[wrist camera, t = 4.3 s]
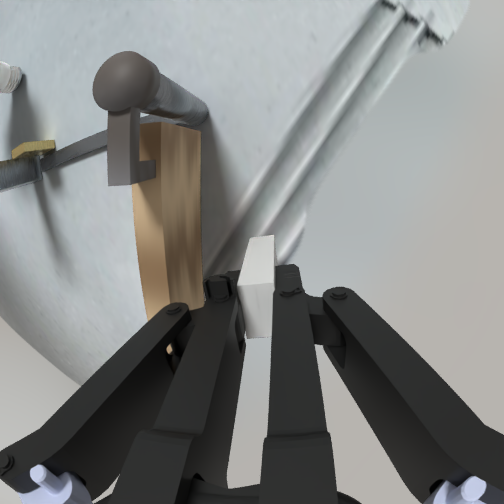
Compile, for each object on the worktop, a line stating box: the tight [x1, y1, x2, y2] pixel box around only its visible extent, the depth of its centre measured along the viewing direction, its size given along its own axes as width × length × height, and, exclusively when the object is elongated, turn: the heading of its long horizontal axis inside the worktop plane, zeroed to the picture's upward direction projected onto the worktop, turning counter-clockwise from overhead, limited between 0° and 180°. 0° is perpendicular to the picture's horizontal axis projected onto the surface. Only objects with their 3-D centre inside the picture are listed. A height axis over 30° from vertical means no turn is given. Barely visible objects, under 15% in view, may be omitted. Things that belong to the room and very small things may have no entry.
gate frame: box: [0, 73, 208, 192], centre depth 14 cm, size 19×3×9 cm, turn 98°
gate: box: [93, 51, 204, 354], centre depth 14 cm, size 17×2×10 cm, turn 178°
